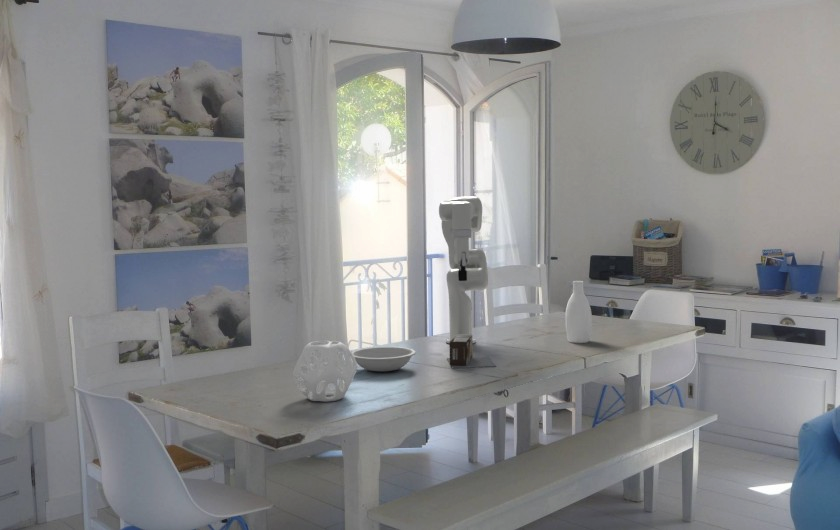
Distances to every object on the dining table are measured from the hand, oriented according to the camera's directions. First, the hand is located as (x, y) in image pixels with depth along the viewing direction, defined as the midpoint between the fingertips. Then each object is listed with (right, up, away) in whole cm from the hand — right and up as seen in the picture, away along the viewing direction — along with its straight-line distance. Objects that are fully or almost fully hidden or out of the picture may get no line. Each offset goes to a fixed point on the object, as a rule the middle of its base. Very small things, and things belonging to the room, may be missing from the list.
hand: (462, 280), depth 336 cm
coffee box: (0, -25, -10) cm, 27 cm away
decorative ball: (-46, -35, -71) cm, 92 cm away
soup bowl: (-30, -32, -29) cm, 53 cm away
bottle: (+50, -26, +24) cm, 61 cm away
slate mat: (+2, -30, -19) cm, 36 cm away
